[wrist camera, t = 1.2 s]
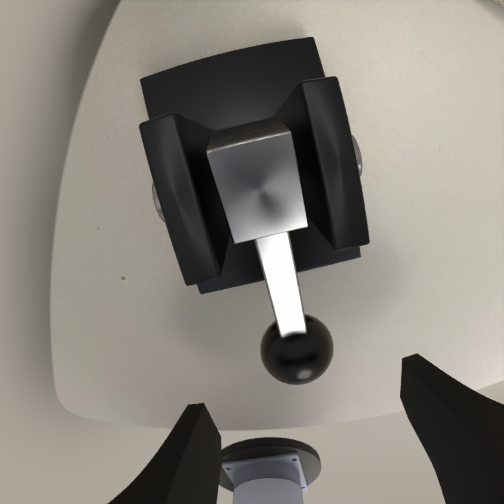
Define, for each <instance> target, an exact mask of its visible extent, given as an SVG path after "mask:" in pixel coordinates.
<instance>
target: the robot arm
mask: <svg viewBox="0 0 504 504" xmlns="http://www.w3.org/2000/svg"><path fill="white" fill-rule="evenodd" d="M400 398H401V401H402V403H403V406H404V409H405V411H406V414H407V416H408V419H409V421H410V423H411V424H412V426H413V428H414V430H415V432H416V434H417V436H418V438H419V440H420V441H421V443H422V445H423V447H424V449H425V451H426V453H427V455H428V457H429V458H430V460H431V462H432V464H433V467H434V469H435V471H436V475H437V477H438V480H439V483H440V486H441V489H442V492H443V496H444V499H445V503H446V504H504V405H503V404H501V403H499V402H496V401H494V400H492V399H489V398H487V397H485V396H483V395H481V394H479V393H478V392H476V391H474V390H472V389H470V388H469V387H467V386H465V385H463V384H462V383H460V382H459V381H457V380H456V379H454V378H452V377H451V376H449V375H448V374H446V373H445V372H443V371H442V370H440V369H439V368H438V367H436V366H435V365H433V364H432V363H430V362H429V361H428V360H426V359H425V358H423V357H422V356H420V355H419V354H414V355H411V356H408V357H405V358H402V374H401V390H400ZM222 467H223V469H224V470H225V472H226V473H227V475H228V476H229V478H230V480H231V481H232V483H233V484H234V489H233V504H303V497H302V493H303V492H307V491H308V486H307V483H306V479H305V476H304V472H303V469H302V465H301V462H300V458H299V455H298V453H296V452H292V453H287V454H281V455H275V456H268V457H261V458H254V459H246V460H237V461H227V462H223V463H222ZM220 469H221V436H220V434H219V432H218V430H217V428H216V426H215V424H214V422H213V420H212V418H211V416H210V414H209V412H208V410H207V408H206V406H205V404H204V403H199V404H190V405H188V406H187V407H186V409H185V410H184V412H183V413H182V415H181V417H180V418H179V420H178V421H177V423H176V425H175V426H174V428H173V429H172V431H171V433H170V434H169V435H168V437H167V439H166V440H165V441H164V443H163V444H162V446H161V447H160V449H159V450H158V452H157V453H156V454H155V456H154V457H153V458H152V459H151V461H150V462H149V463H148V465H147V466H146V467H145V468H144V469H143V471H142V472H141V473H140V474H139V475H138V476H137V477H136V478H135V480H134V481H133V482H132V483H131V484H130V485H129V486H128V487H127V488H126V489H124V490H123V491H122V492H121V493H120V494H119V495H118V496H117V497H115V498H114V499H113V500H112V501H111V502H109V503H108V504H216V503H217V495H218V486H219V478H220Z"/></svg>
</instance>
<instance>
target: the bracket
mask: <svg viewBox="0 0 504 504" xmlns="http://www.w3.org/2000/svg"><path fill="white" fill-rule="evenodd" d="M140 82H141V87H142V91H143V95H144V100H145V104H146V108H147V112H148V116H149V120H148V121H145V122H142V123H141V124H140V125H139V129H140V133H141V137H142V141H143V145H144V149H145V153H146V157H147V160H148V164H149V168H150V171H151V175H152V179H153V185H152V193H153V200H154V204H155V207H156V210H157V212H158V214H159V216H160V218H161V219H162V220H163V221H164V222H165V223H166V226H167V229H168V233H169V236H170V239H171V242H172V245H173V248H174V251H175V255H176V258H177V261H178V264H179V267H180V270H181V273H182V276H183V279H184V281H185V284H186V285H187V286H189V285H194V284H197V286H198V289H199V292H200V294H204V293H209V292H213V291H218V290H223V289H227V288H232V287H236V286H241V285H245V284H250V283H254V282H259V281H263V280H265V279H264V275H263V271H262V268H261V264H260V260H259V256H258V253H257V249H256V245H255V242H254V240H249V241H245V242H241V243H237V244H234V243H233V242H232V239H231V235H230V232H229V229H228V226H227V223H226V219H225V216H224V213H223V210H222V206H221V203H220V200H219V197H218V193H217V190H216V187H215V184H214V180H213V177H212V174H211V171H210V167H209V164H208V161H207V157H206V154H205V151H206V147H207V143H208V140H209V136H210V133H211V132H213V131H217V130H221V129H225V128H229V127H232V126H237V125H241V124H245V123H249V122H253V121H258V120H262V119H267V118H271V117H276V116H277V117H279V118H280V119H281V120H282V121H283V122H284V123H285V124H286V126H287V127H288V128H289V129H290V130H291V131H292V133H293V138H294V143H295V148H296V153H297V158H298V164H299V169H300V174H301V180H302V186H303V191H304V197H305V203H306V209H307V215H308V221H309V226H308V227H305V228H301V229H297V230H292V231H289V234H290V239H291V244H292V249H293V255H294V260H295V265H296V270H297V273H298V272H302V271H306V270H310V269H315V268H319V267H323V266H327V265H331V264H335V263H339V262H343V261H347V260H352V259H356V258H360V257H361V254H360V247H359V246H363V245H367V244H369V242H370V240H369V232H368V225H367V217H366V211H365V204H364V198H363V192H362V186H361V180H360V176H361V174H362V158H361V153H360V150H359V147H358V144H357V142H356V140H355V138H354V137H353V135H352V134H351V130H350V126H349V121H348V117H347V113H346V109H345V105H344V101H343V97H342V93H341V89H340V85H339V81H338V78H337V77H335V76H332V77H325V74H324V71H323V67H322V64H321V60H320V57H319V54H318V50H317V47H316V44H315V41H314V38H313V37H307V38H299V39H292V40H286V41H280V42H274V43H268V44H263V45H258V46H253V47H248V48H243V49H239V50H234V51H230V52H226V53H222V54H218V55H214V56H210V57H207V58H203V59H200V60H196V61H193V62H189V63H186V64H183V65H179V66H176V67H173V68H170V69H167V70H164V71H161V72H158V73H155V74H153V75H150V76H147V77H144V78H142V79H140Z"/></svg>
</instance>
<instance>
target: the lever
mask: <svg viewBox="0 0 504 504" xmlns="http://www.w3.org/2000/svg"><path fill="white" fill-rule="evenodd" d="M205 154H206V157H207V161H208V164H209V167H210V171H211V174H212V177H213V180H214V184H215V187H216V190H217V193H218V197H219V200H220V203H221V206H222V210H223V213H224V216H225V219H226V223H227V226H228V229H229V232H230V235H231V239H232V242H233V243H234V244H237V243H241V242H245V241H249V240H254V242H255V245H256V249H257V253H258V256H259V260H260V264H261V268H262V271H263V275H264V279H265V282H266V286H267V290H268V294H269V297H270V301H271V305H272V308H273V312H274V316H275V320H276V321H274V322H273V323H272V324H271V325H270V326H269V327H268V329H267V330H266V332H265V334H264V336H263V338H262V342H261V358H262V361H263V364H264V366H265V368H266V369H267V371H268V372H269V373H270V374H271V375H272V376H273V377H274V378H276V379H277V380H279V381H281V382H283V383H287V384H291V385H301V384H306V383H309V382H311V381H314V380H315V379H317V378H318V377H320V376H321V375H322V374H323V373H324V372H325V371H326V369H327V368H328V366H329V364H330V362H331V360H332V356H333V341H332V337H331V335H330V332H329V331H328V329H327V328H326V326H325V325H324V324H323V323H322V322H321V321H319V320H318V319H317V318H315V317H313V316H310V315H307V314H304V309H303V303H302V298H301V292H300V287H299V281H298V276H297V270H296V265H295V260H294V255H293V249H292V244H291V239H290V234H289V231H292V230H297V229H301V228H305V227H308V226H309V221H308V215H307V209H306V203H305V197H304V191H303V186H302V180H301V174H300V169H299V164H298V158H297V153H296V148H295V143H294V138H293V133H292V131H291V130H290V129H289V128H288V127H287V126H286V124H285V123H284V122H283V121H282V120H281V119H280V118H279V117H277V116H276V117H271V118H267V119H262V120H258V121H253V122H249V123H245V124H241V125H237V126H232V127H229V128H225V129H221V130H217V131H213V132H211V133H210V136H209V140H208V143H207V147H206V151H205Z"/></svg>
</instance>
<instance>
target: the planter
mask: <svg viewBox="0 0 504 504" xmlns="http://www.w3.org/2000/svg"><path fill="white" fill-rule="evenodd" d="M494 1H496V2H497V3H499V4H500V5H502V6H503V7H504V0H494Z"/></svg>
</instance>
